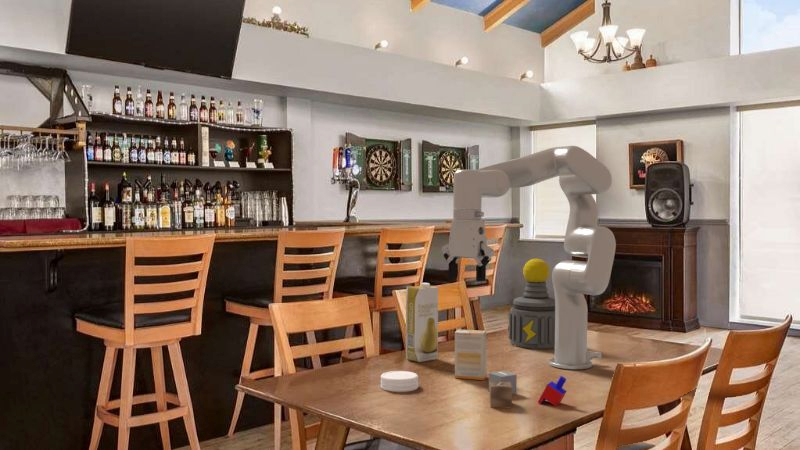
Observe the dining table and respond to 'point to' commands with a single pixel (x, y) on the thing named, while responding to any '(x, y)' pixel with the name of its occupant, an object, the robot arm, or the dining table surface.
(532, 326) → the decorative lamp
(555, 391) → the toy building block
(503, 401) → the numeral seven cube
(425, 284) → the juice carton
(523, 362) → the dining table surface
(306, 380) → the dining table surface
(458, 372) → the supplement box
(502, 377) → the numeral one cube
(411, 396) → the dining table surface
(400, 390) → the white short cylinder
